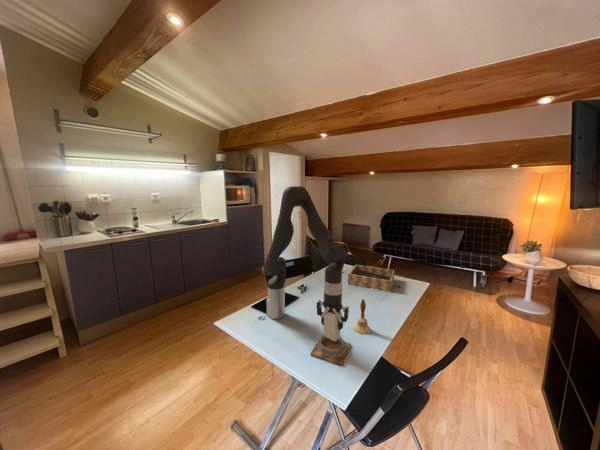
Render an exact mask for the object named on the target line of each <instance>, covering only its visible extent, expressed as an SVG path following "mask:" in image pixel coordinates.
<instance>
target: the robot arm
mask: <svg viewBox="0 0 600 450" xmlns="http://www.w3.org/2000/svg"><path fill="white" fill-rule="evenodd" d="M295 207H296V208H298V207H301V208H302V210H303V211H304V212H305V215H306V220H307V227H308V230H309V232H310V234H311V235H312V237H313V238H314V240H315V241H316V244H317V247H318V250H319V253H320V256H321V258H322V259H323V261H325V262H326V263H328V265H327V267H326V268H325V270H324V285H323V301H322V300H321V299H319V300H317V302H316V315H317V316H320V318H321V321H320V323H321V325H322V326H323V327H324V314H326V313H327V312H332V313H335V314H336V315H337V318H338V319H339V330H340V331H341V330H342V329H343V328H344V323H347V322H348V321H347V320H349V313H350V311H349V310H350V307H349V306H343V303H342V301H343V299H342V298H343V294H342V293H343V283H342V281H343V269H344V266H345V263H346V258H347V251H346V248H345V247H344V245H343V244H341V243H333V244H332V243H331V242H330V240H331V239H332V234H331V232H330V230H329V229H328V227H327V226H326V224H325V223H324V221H323V219H322V218H321V216H320V214H319V213H318V210H317V208H316V206H315V204H314V202H313V199H312V197H311V195H310V193H309V191H308V189H307V188H306V187H304V186H300V185H297V186H295V185H294V186H287V187H286V188H285V189H284V190H283V193H282V196H281V202H280V208H279V213H278V218H277V222H276V226H275V229H274V232H273V233H274V234H273V238H272V241H271V245H270V247H269V251H268V253H267V256H266V258H265V260H264V261H265V262H264V265H263V266H264V267H263V270H264V271H263V272H264V273H265V275H266V276H267V277H271V278H270V279H269V280H268V282H267V298H266V301H265V302H266V317H268V318H270V319H271V320H281V319H282V318H284V317H285V316H286V313H285V312H286V310H285V309H286V305H285V303H286V302H285V299H286V298H285V297H286V296H285V293H286V291H285V288H286V287H285V284H286V279H287V262H286V260H285V258H284V257H282V256H281V255H282V253H283V252H284V251H285V250H286V249H287V248H288V247H289V246H290V244H291V242H292V239H293V237H294V233H295V232H294V231H295V228H294V225H293V222H292V214H293V210H294V208H295ZM322 307H323V308H324V310H323V311H322V309H323V308H322ZM338 312H340V314H338ZM342 312H343V313H344V314H343V313H342Z"/></svg>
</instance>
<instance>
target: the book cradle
mask: <svg viewBox="0 0 600 450" xmlns="http://www.w3.org/2000/svg"><path fill="white" fill-rule="evenodd" d="M359 270H361V271H366V272H370V273H374V274H378V275H383V276H389V277H391V278H390V280H384V279H378V278H372V277H366V276H360V275H355V274H356V273H357V272H358V271H359ZM347 275H348V276H347V285H348V284H349V286H353V285H355V287H359V286H361V287H360V288H364V287H366V288H365V289H370V288H373V289H372V290H375V289H379V290H378V291H380V290H385V291H384V292H386V291H391V292H392V290H391V289H393V286H392V285H394V282H393V281H394V280H395V269H388V268H381V267H376V266H375V267H374V266H368V265H363V264H362V265H361V264H355V265H354V266H353V267H352V269H351V270H350V271H349V273H348V274H347Z"/></svg>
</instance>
